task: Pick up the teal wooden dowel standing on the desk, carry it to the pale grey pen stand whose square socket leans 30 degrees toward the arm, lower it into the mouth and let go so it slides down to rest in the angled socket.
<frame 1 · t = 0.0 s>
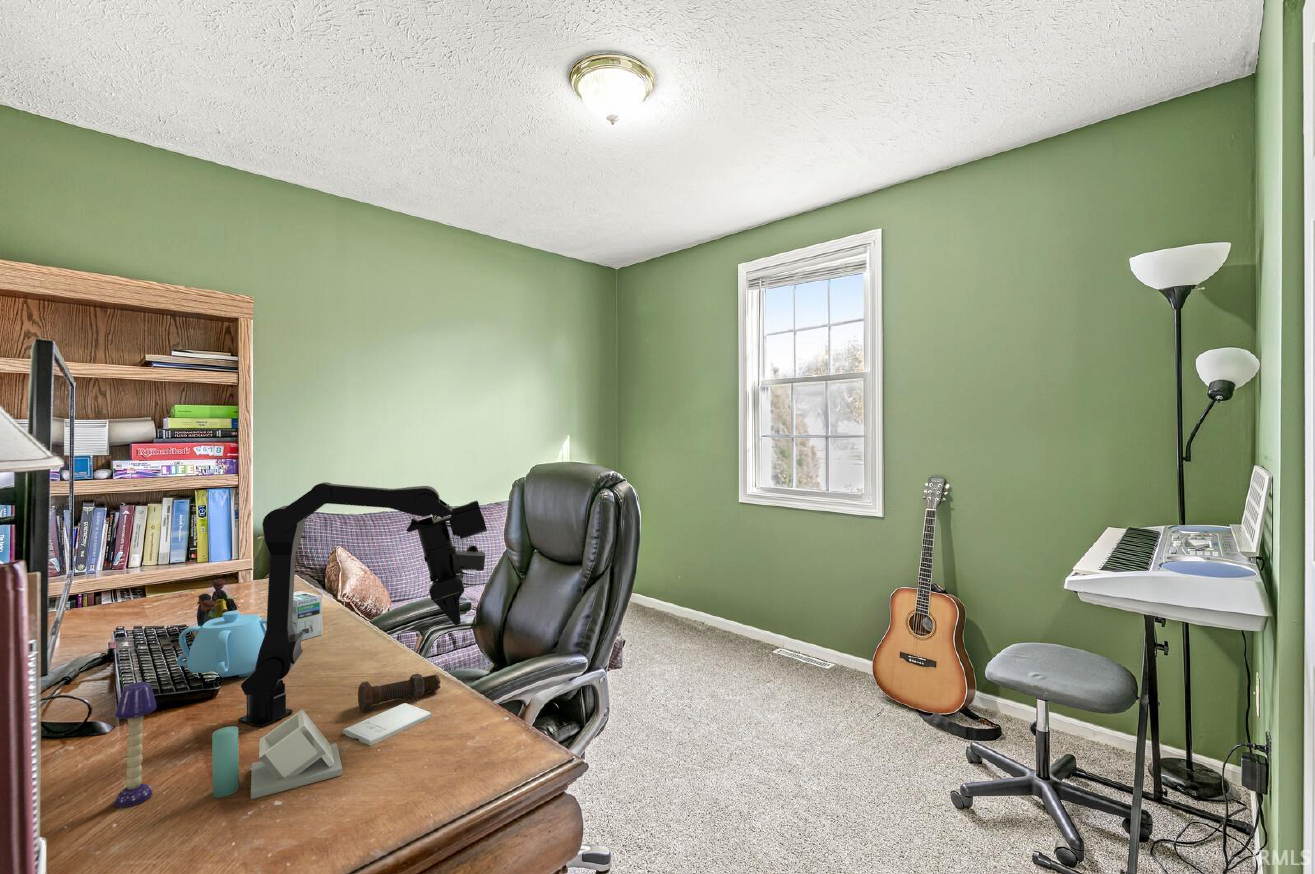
hand: (457, 617, 128), 15 cm above the table, tool pointing down, fingers open, 9 cm apart
external hard drive: (388, 729, 114), on the table
light bulb box: (299, 635, 165), on the table
doll family: (214, 634, 167), on the table
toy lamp: (136, 799, 91), on the table
light blue teapot: (231, 672, 140), on the table
bolt: (401, 702, 124), on the table
socket: (300, 771, 98), on the table
dowel: (225, 791, 93), on the table
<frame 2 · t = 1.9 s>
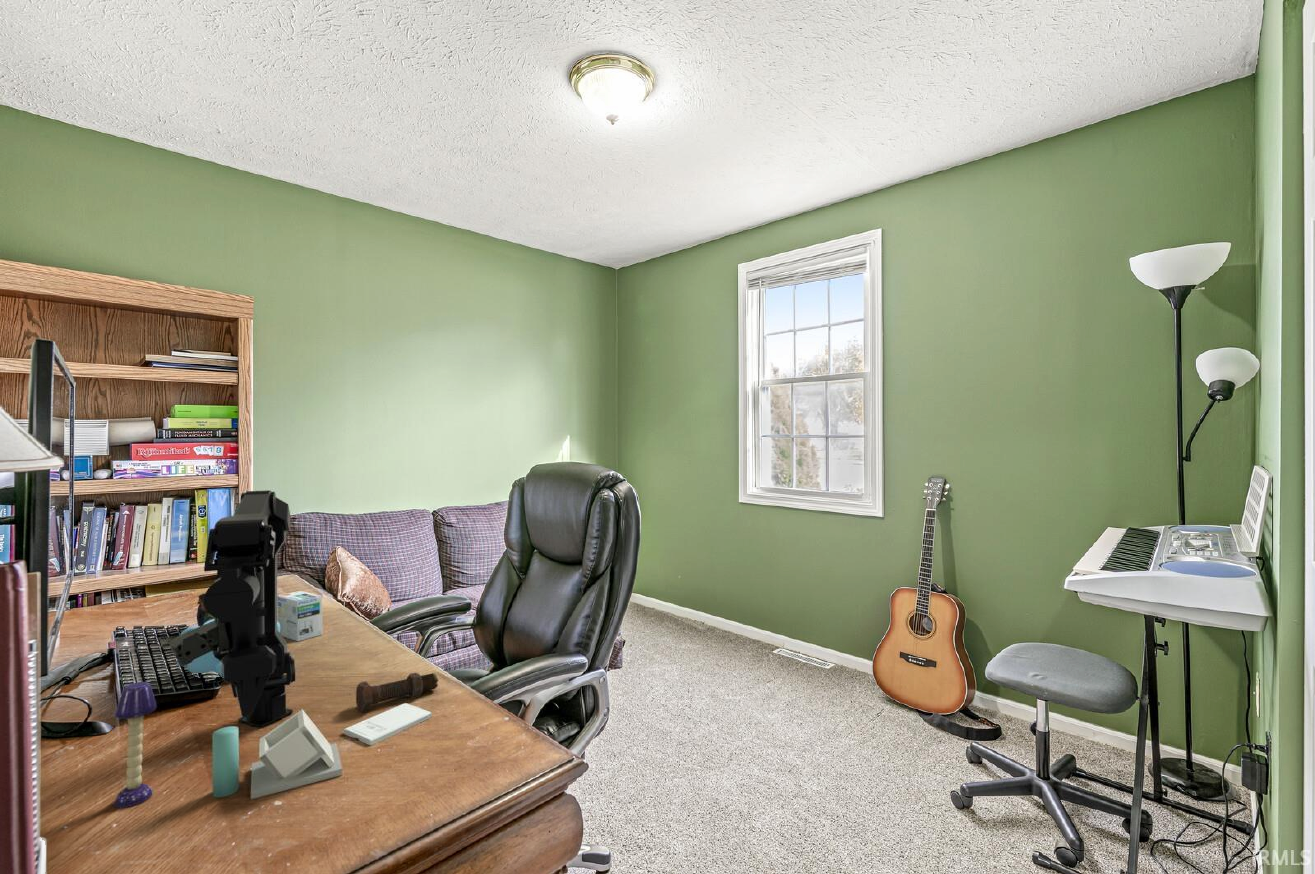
hand: (242, 705, 93), 13 cm above the table, tool pointing down, fingers open, 9 cm apart
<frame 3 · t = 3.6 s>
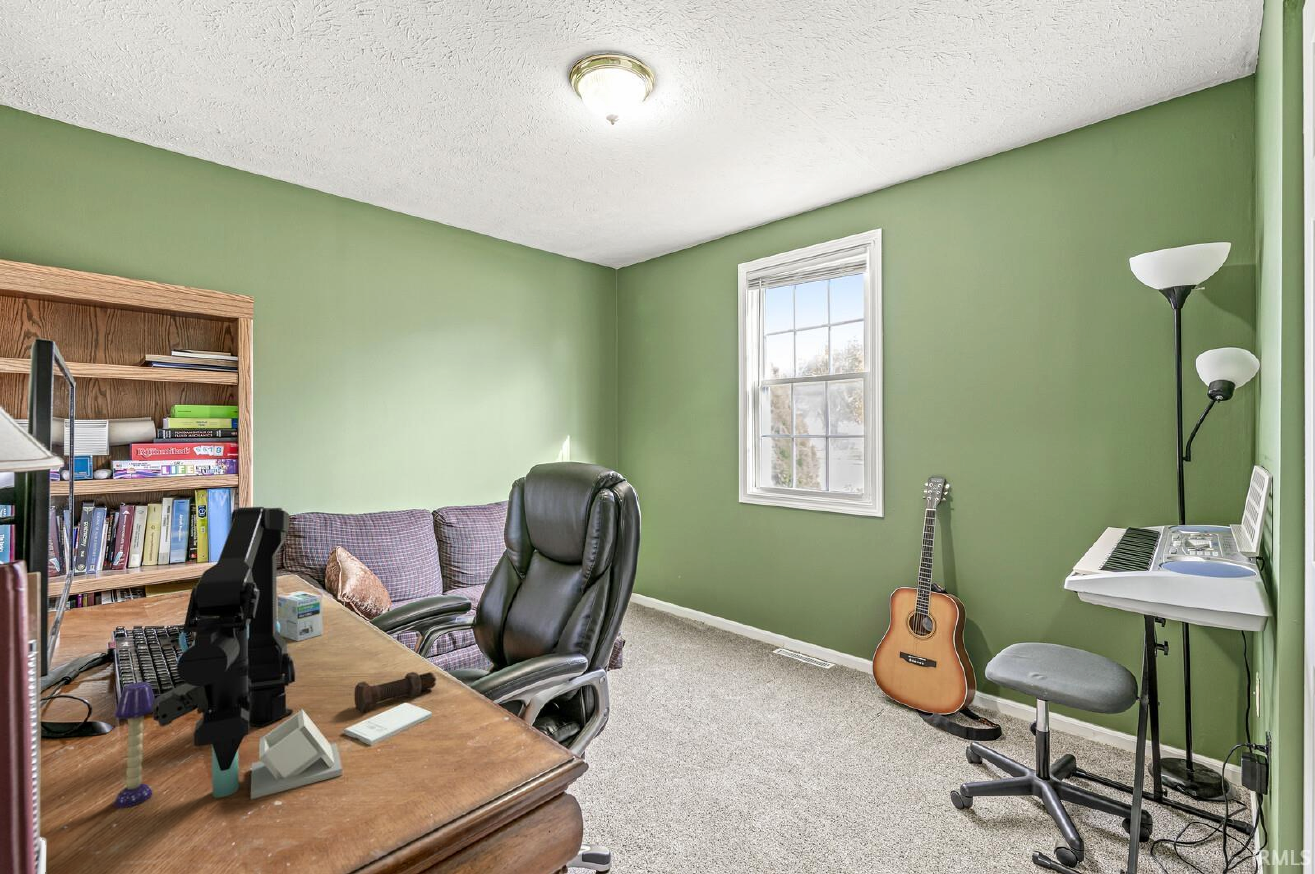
hand: (225, 764, 93), 4 cm above the table, tool pointing down, fingers closed on dowel, 3 cm apart
dowel: (225, 791, 93), on the table, touching gripper
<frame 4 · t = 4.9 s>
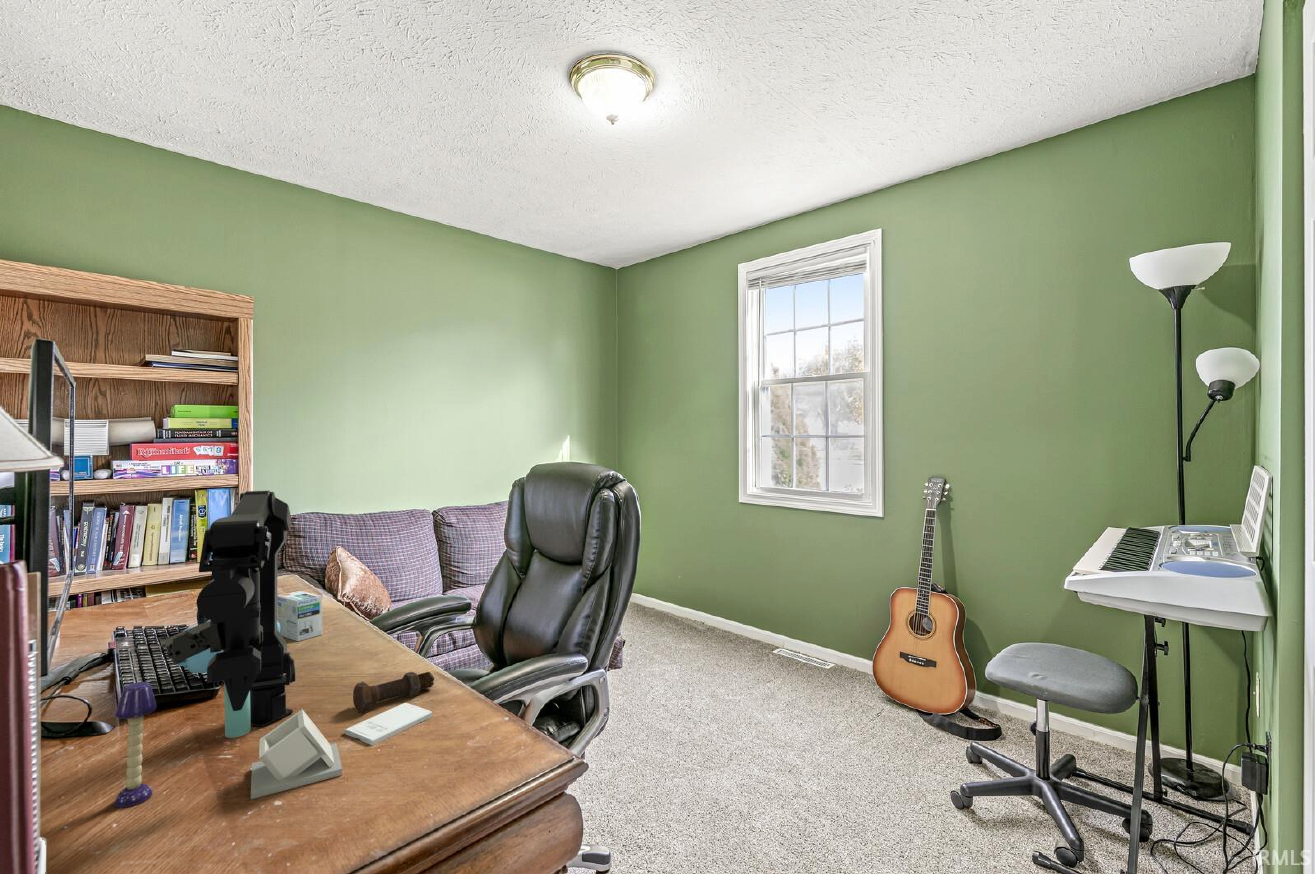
hand: (238, 705, 94), 12 cm above the table, tool pointing down, fingers closed on dowel, 3 cm apart
dowel: (237, 732, 94), point 8 cm above the table, touching gripper
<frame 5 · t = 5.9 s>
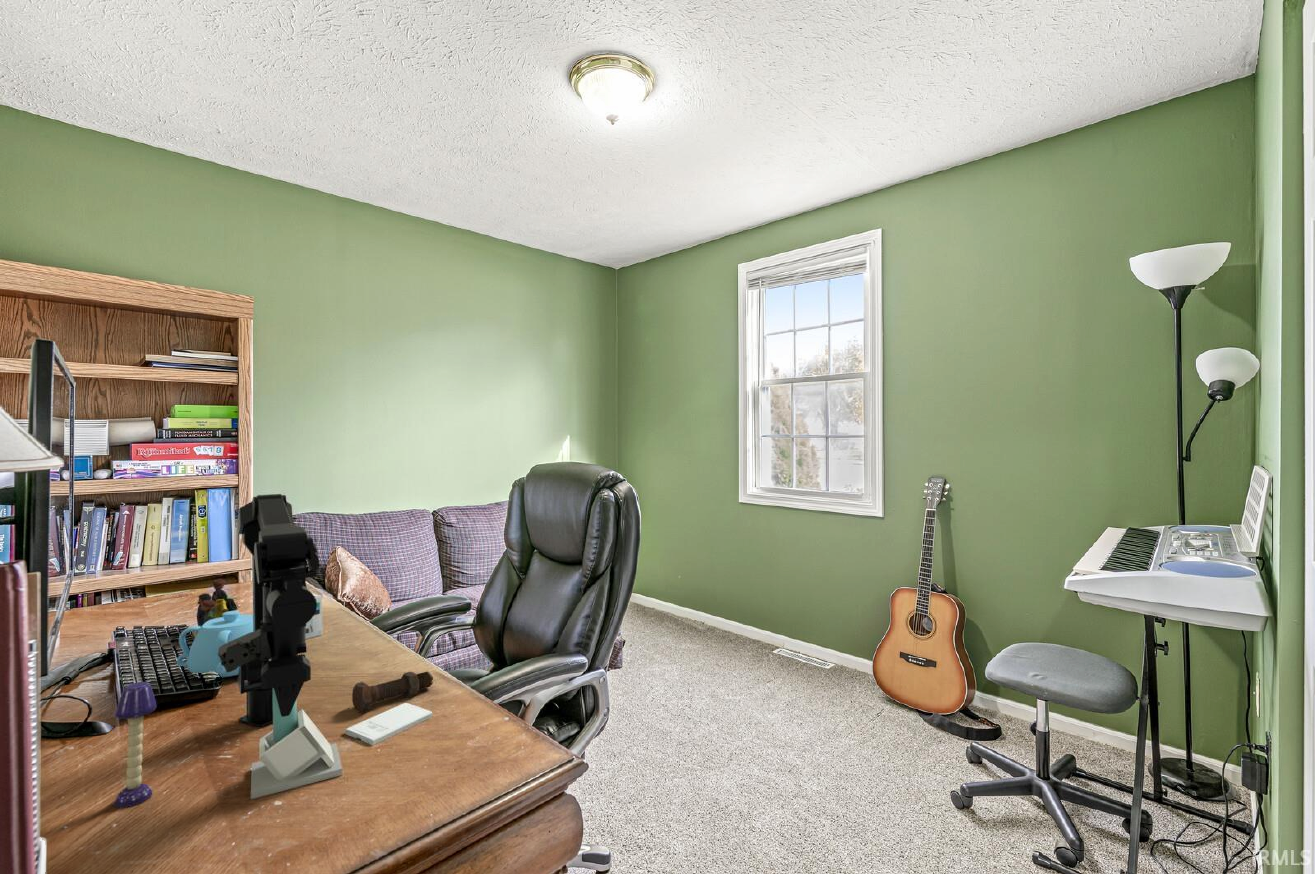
hand: (285, 711, 97), 10 cm above the table, tool pointing down, fingers closed on dowel, 3 cm apart
dowel: (285, 736, 97), point 6 cm above the table, touching gripper
when the fingers open (9 cm above the table, at t = 6.3 s): dowel drops 3 cm and tips over, resting on socket.
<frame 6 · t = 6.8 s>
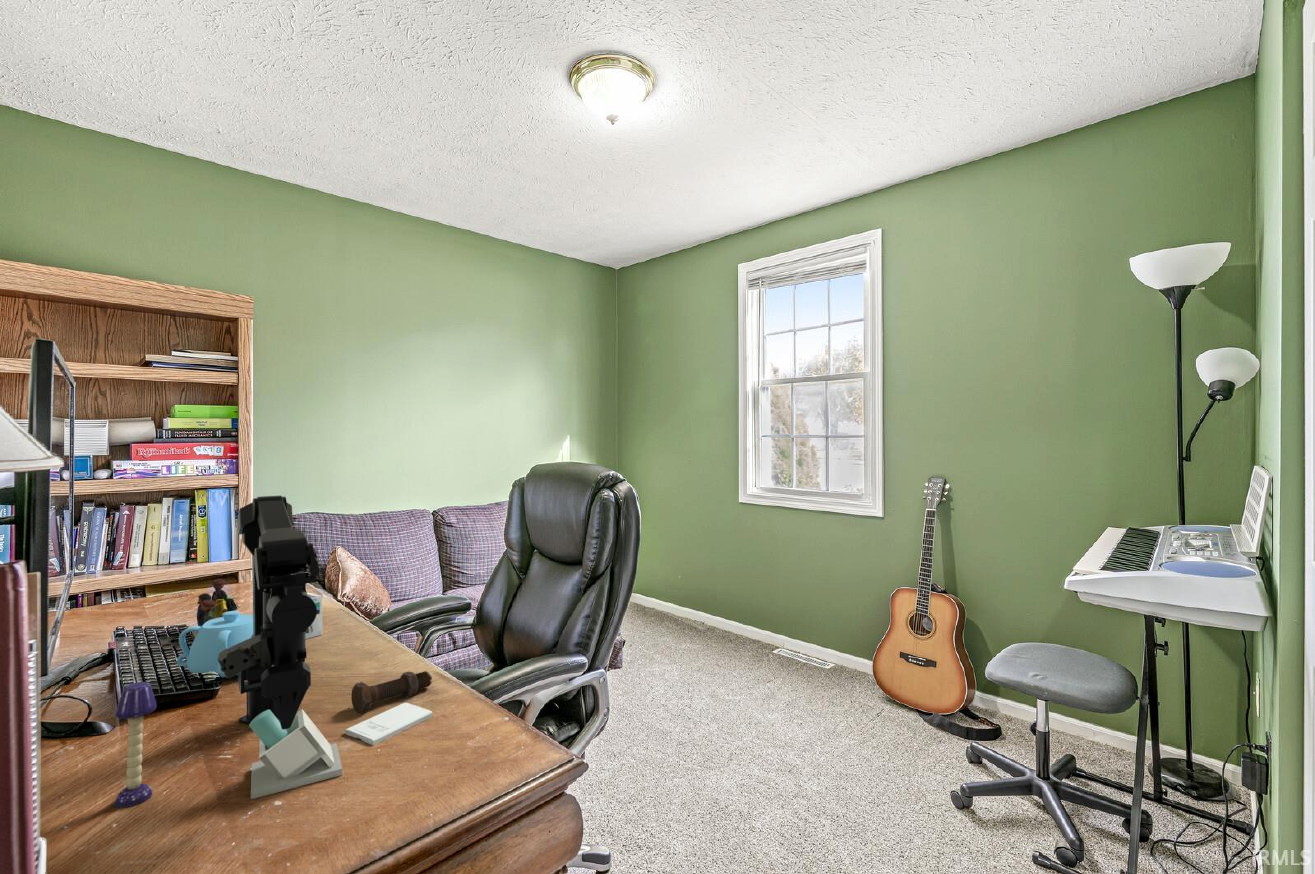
hand: (285, 717, 97), 9 cm above the table, tool pointing down, fingers open, 9 cm apart
dowel: (293, 759, 98), point 2 cm above the table, tilted 30°, touching socket
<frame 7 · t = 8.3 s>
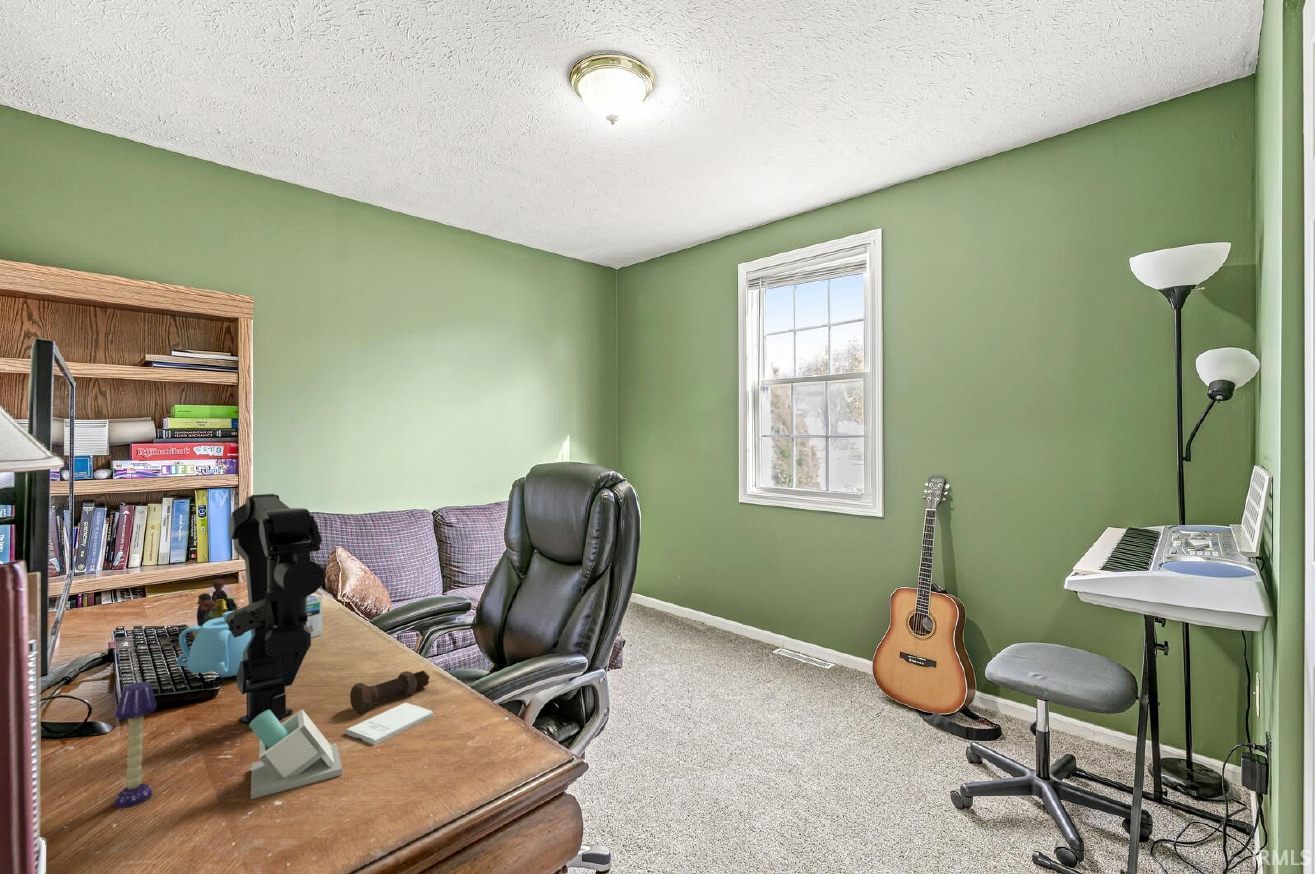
hand: (287, 675, 105), 13 cm above the table, tool pointing down, fingers open, 9 cm apart
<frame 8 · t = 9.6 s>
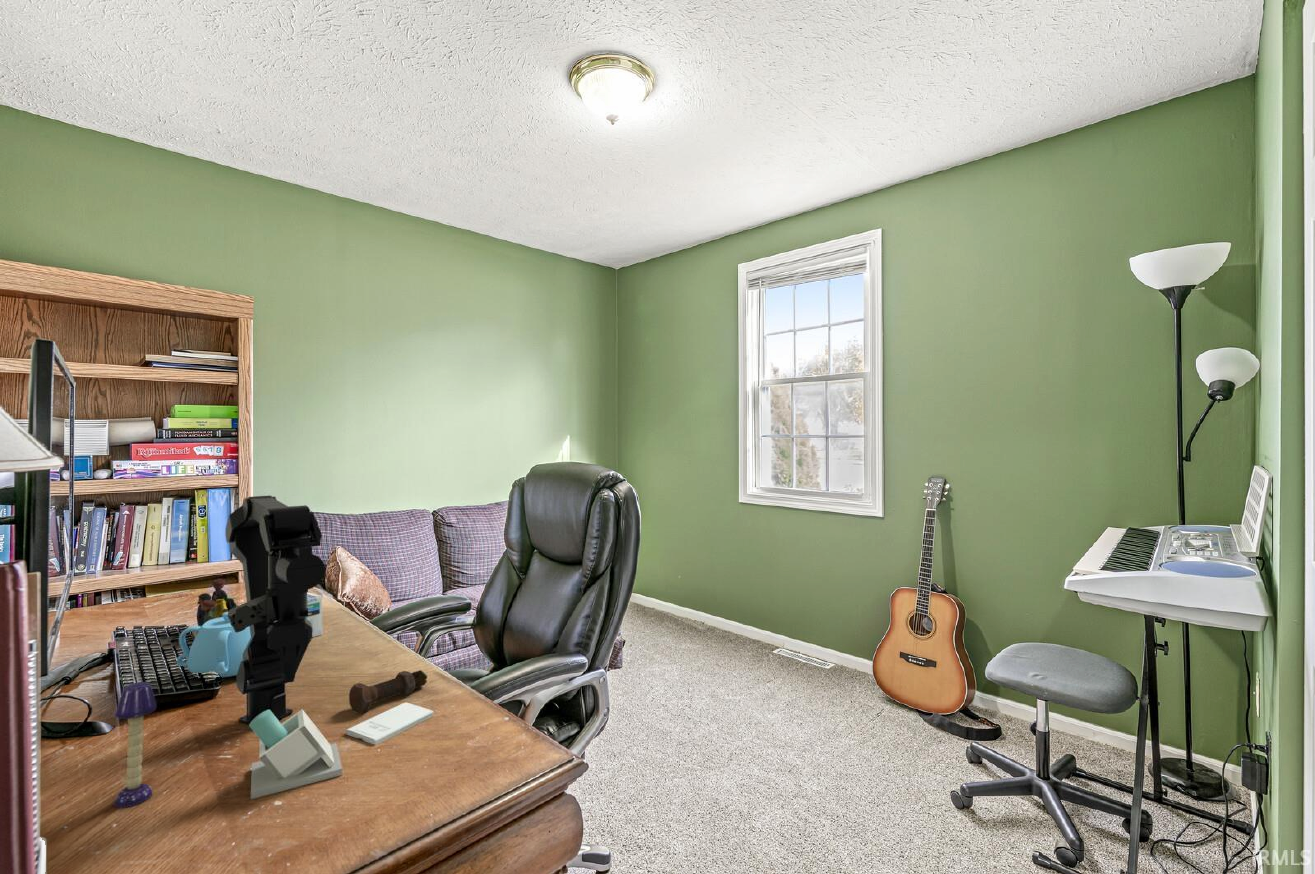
hand: (288, 670, 106), 13 cm above the table, tool pointing down, fingers open, 9 cm apart
at the end: dowel 0.1 cm off-centre on the socket, point 2.0 cm above the socket's base; dowel tilted 30°; the gripper is holding nothing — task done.
